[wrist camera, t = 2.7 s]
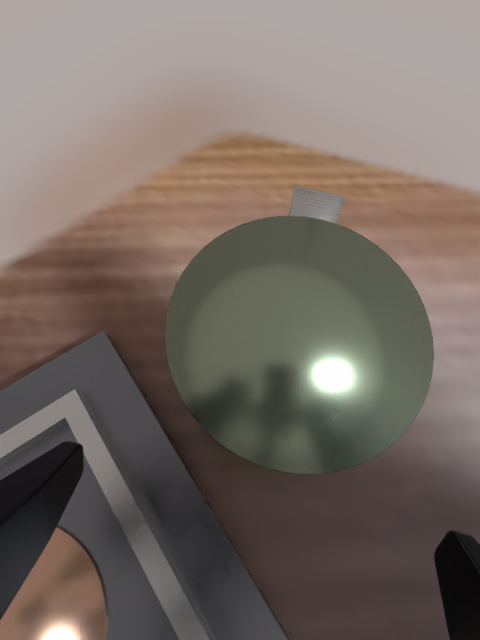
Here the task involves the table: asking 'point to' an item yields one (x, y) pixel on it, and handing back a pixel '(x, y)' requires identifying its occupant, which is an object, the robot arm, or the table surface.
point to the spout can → (299, 341)
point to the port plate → (121, 518)
